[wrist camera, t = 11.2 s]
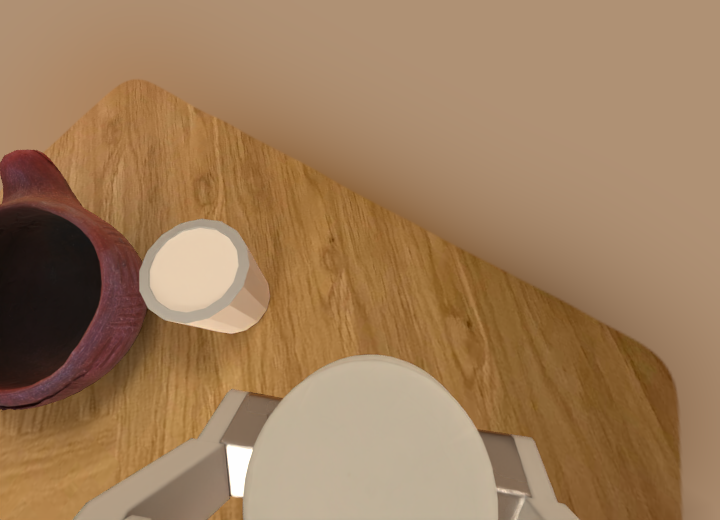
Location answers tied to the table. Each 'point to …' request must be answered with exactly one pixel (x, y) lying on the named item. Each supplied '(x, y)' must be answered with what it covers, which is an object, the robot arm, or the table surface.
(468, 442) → the pill bottle
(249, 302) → the shot glass
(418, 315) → the table surface
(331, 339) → the table surface
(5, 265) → the bowl
